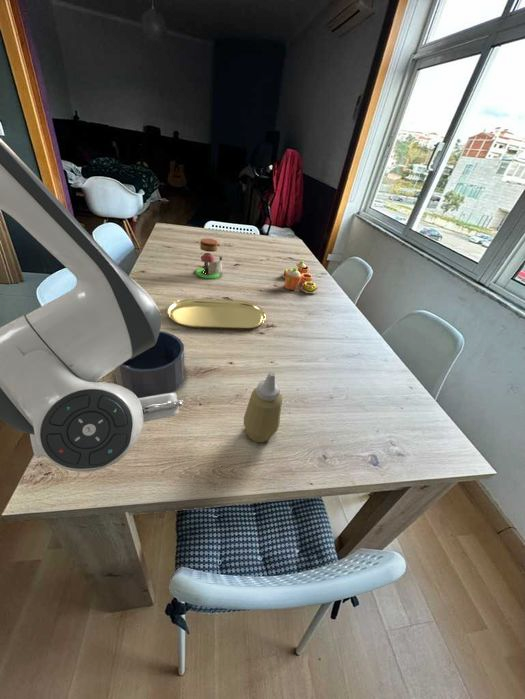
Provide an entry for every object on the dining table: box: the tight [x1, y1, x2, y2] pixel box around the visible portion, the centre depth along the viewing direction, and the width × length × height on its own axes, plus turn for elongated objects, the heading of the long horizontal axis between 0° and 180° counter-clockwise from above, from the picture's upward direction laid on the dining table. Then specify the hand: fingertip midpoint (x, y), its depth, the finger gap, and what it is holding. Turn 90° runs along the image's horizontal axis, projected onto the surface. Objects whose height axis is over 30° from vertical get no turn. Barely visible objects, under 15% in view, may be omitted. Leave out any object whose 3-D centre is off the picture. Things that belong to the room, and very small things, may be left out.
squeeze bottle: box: [243, 371, 283, 443], centre depth 62 cm, size 8×8×18 cm
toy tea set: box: [282, 260, 318, 294], centre depth 139 cm, size 26×16×10 cm, turn 2°
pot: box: [113, 330, 186, 398], centre depth 74 cm, size 17×17×9 cm
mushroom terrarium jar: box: [195, 237, 223, 280], centre depth 130 cm, size 12×13×15 cm
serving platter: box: [166, 298, 267, 330], centre depth 106 cm, size 19×35×2 cm, turn 99°
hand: (116, 412), depth 52 cm, fingers closed on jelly, 5 cm apart
